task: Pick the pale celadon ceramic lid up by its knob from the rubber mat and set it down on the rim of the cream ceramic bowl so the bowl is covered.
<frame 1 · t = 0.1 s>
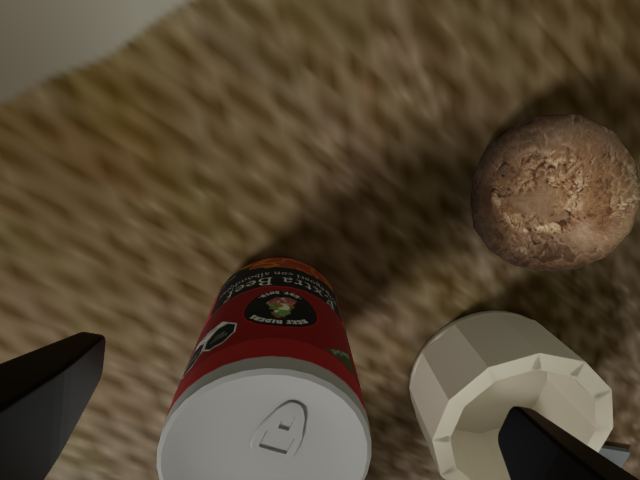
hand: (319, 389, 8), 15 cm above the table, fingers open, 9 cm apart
canned food: (277, 310, 24), on the table
bowl: (482, 377, 27), on the table
mushroom: (513, 185, 23), on the table
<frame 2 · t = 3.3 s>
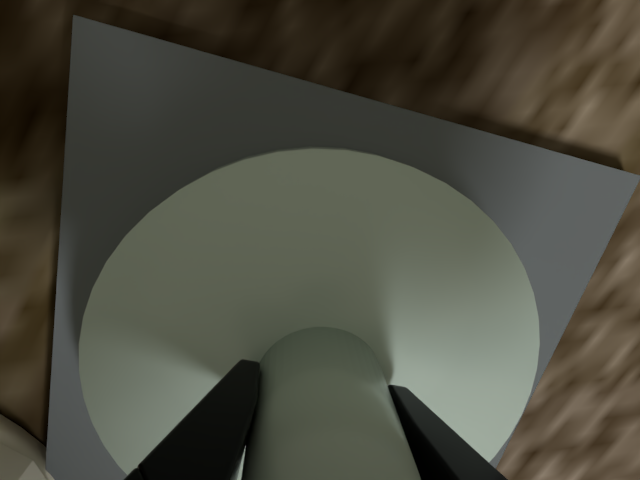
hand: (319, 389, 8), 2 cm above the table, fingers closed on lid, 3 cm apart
lid: (316, 355, 9), resting on mat, touching gripper
mat: (315, 346, 10), on the table
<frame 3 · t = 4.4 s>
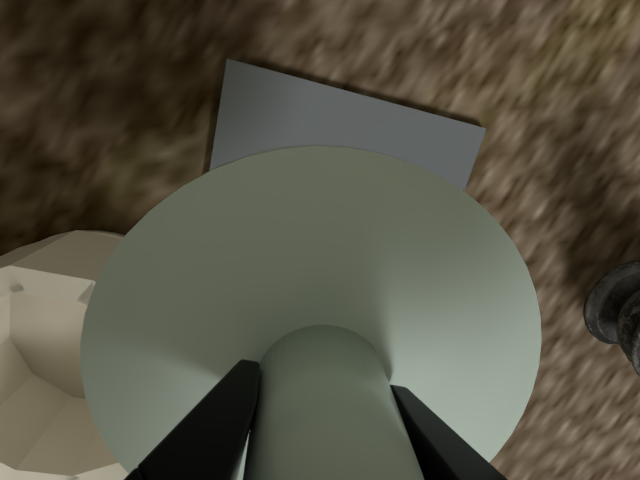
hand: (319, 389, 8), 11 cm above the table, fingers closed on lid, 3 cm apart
lid: (317, 354, 9), point 10 cm above the table, touching gripper
grey tall ribbed piece: (626, 302, 22), on the table
bowl: (105, 326, 20), on the table
mat: (329, 221, 19), on the table
when the fingers open (7 cm above the table, at t = 5.9 s): lid drops 1 cm, resting on bowl.
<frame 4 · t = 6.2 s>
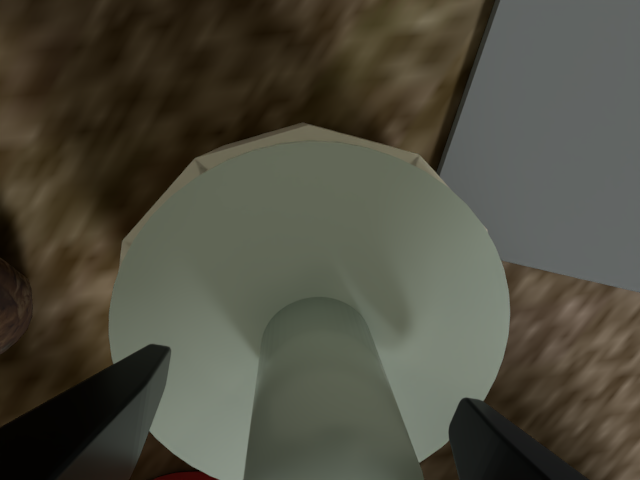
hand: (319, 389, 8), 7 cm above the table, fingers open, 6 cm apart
lid: (314, 326, 11), point 5 cm above the table, touching bowl
bowl: (305, 262, 15), on the table
mat: (610, 125, 14), on the table
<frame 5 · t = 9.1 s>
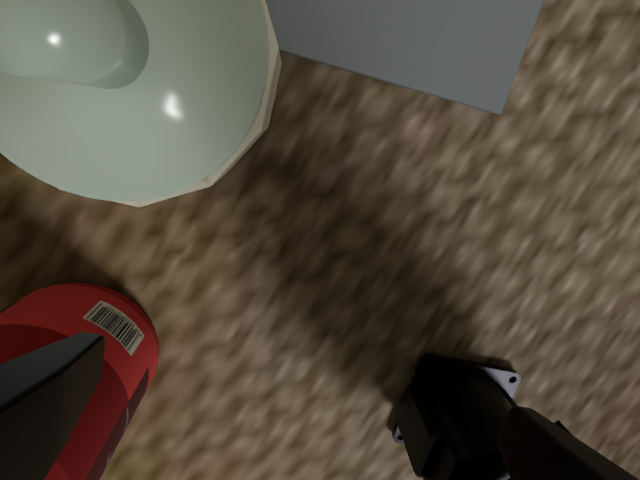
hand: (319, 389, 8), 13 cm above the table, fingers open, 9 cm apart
canned food: (91, 338, 21), on the table
lid: (115, 45, 12), point 5 cm above the table, touching bowl
bowl: (162, 66, 17), on the table
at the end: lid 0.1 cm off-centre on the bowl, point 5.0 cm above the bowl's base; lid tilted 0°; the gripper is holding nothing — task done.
